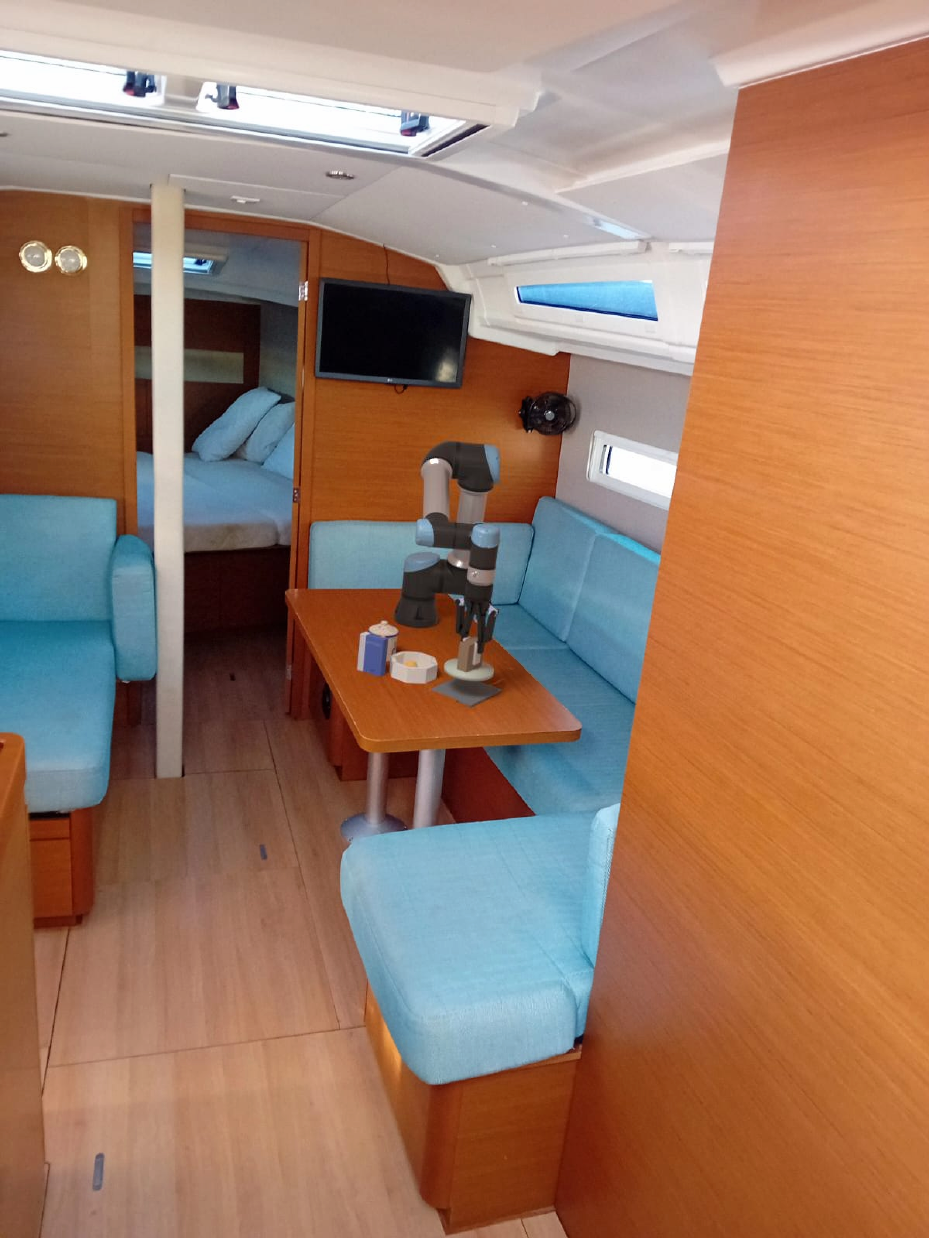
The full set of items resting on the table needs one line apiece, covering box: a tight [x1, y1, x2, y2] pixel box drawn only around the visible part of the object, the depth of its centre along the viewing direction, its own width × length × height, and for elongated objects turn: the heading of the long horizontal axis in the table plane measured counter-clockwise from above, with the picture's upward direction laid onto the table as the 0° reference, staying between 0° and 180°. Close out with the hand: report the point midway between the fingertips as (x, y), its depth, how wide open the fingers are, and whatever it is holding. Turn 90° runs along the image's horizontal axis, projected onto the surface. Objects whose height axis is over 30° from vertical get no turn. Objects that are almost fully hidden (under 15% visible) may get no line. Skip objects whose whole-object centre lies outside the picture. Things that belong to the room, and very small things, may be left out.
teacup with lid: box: [367, 620, 400, 662], centre depth 281 cm, size 12×9×12 cm
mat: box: [430, 677, 503, 708], centre depth 265 cm, size 16×14×1 cm
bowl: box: [388, 650, 439, 685], centre depth 270 cm, size 13×13×5 cm
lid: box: [443, 635, 495, 682], centre depth 261 cm, size 14×14×9 cm
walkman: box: [356, 631, 388, 677], centre depth 267 cm, size 8×3×12 cm, turn 64°
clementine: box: [405, 661, 418, 667], centre depth 270 cm, size 4×4×4 cm
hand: (470, 661), depth 262 cm, fingers closed on lid, 3 cm apart
